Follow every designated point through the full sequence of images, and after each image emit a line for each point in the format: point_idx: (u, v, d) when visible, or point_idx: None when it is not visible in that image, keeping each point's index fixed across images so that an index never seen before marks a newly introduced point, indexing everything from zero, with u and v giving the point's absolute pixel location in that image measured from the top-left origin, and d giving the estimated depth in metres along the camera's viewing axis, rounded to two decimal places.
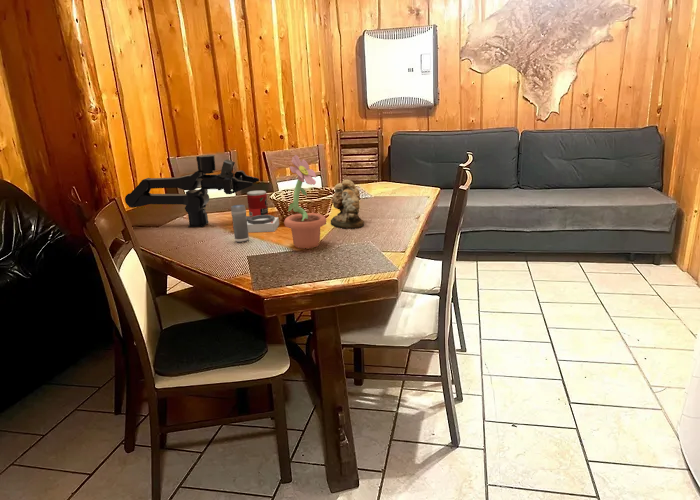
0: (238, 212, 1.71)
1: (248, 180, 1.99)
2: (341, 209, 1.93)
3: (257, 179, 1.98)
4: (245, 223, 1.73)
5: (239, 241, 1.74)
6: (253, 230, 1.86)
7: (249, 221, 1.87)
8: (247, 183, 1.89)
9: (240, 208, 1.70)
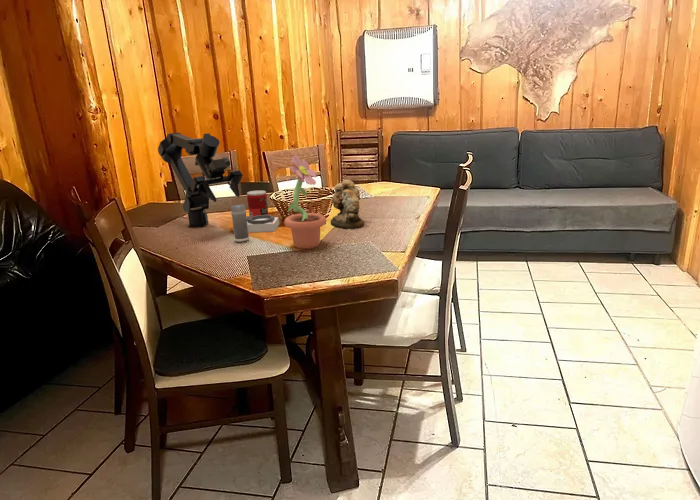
0: (238, 212, 1.71)
1: (233, 188, 1.83)
2: (341, 209, 1.93)
3: (237, 195, 1.81)
4: (245, 223, 1.73)
5: (239, 241, 1.74)
6: (253, 230, 1.86)
7: (249, 221, 1.87)
8: (211, 196, 1.75)
9: (240, 208, 1.70)
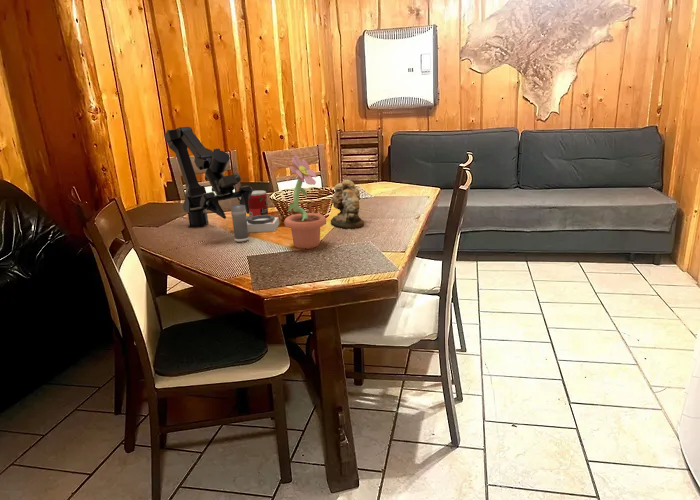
0: (238, 212, 1.71)
1: (243, 204, 1.79)
2: (341, 209, 1.93)
3: (247, 211, 1.77)
4: (245, 223, 1.73)
5: (239, 241, 1.74)
6: (253, 230, 1.86)
7: (249, 221, 1.87)
8: (221, 213, 1.71)
9: (240, 208, 1.70)
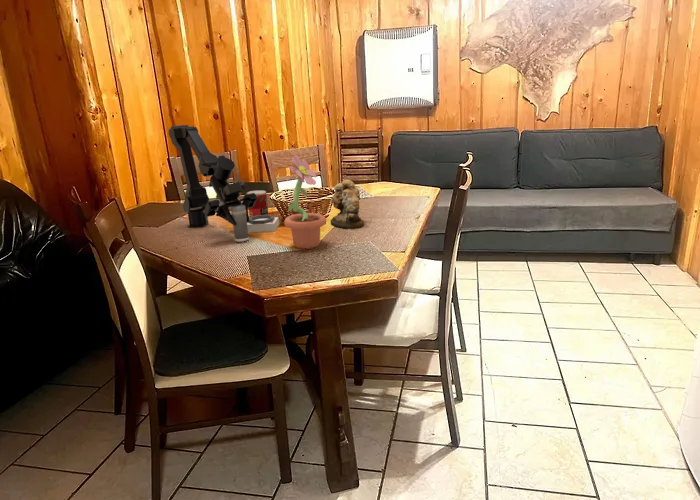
0: (238, 212, 1.71)
1: None
2: (341, 209, 1.93)
3: (247, 220, 1.75)
4: (245, 223, 1.73)
5: (239, 241, 1.74)
6: (253, 230, 1.86)
7: (249, 221, 1.87)
8: (231, 220, 1.71)
9: (240, 208, 1.70)
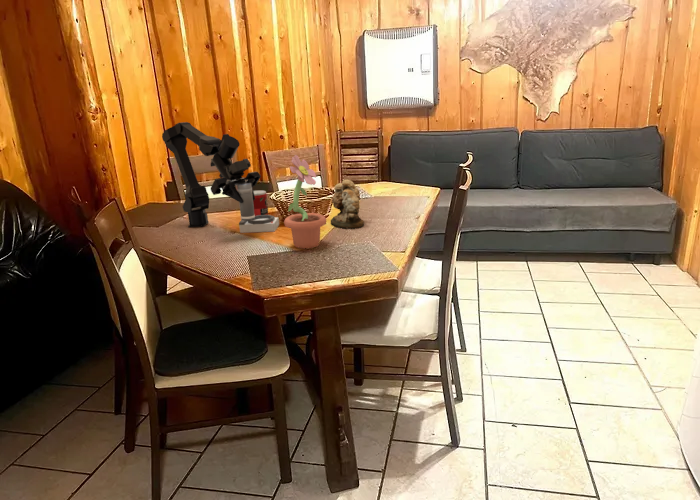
0: (245, 190, 1.73)
1: None
2: (341, 209, 1.93)
3: (253, 198, 1.77)
4: (252, 201, 1.75)
5: (246, 219, 1.76)
6: (253, 230, 1.86)
7: (249, 221, 1.87)
8: (238, 198, 1.73)
9: (247, 185, 1.73)
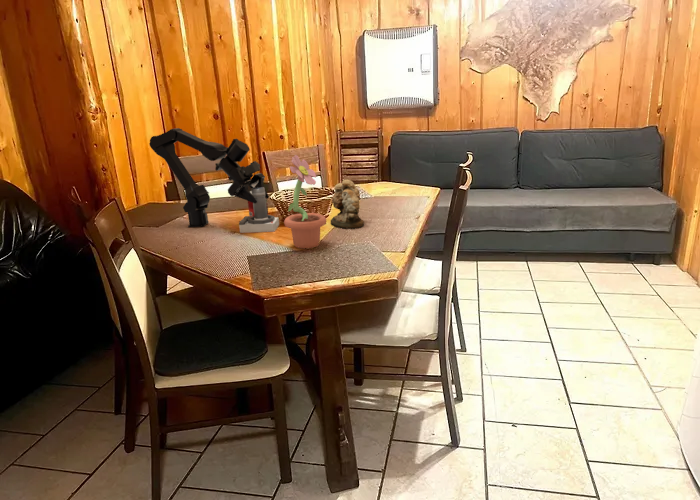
0: (261, 193, 1.85)
1: None
2: (341, 209, 1.93)
3: (267, 196, 1.91)
4: (265, 203, 1.88)
5: None
6: (253, 230, 1.86)
7: (249, 221, 1.87)
8: (252, 199, 1.83)
9: (263, 189, 1.85)
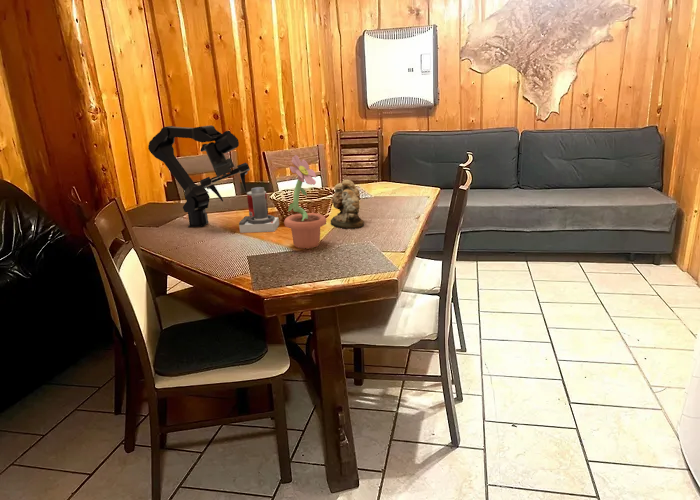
0: (261, 193, 1.85)
1: None
2: (341, 209, 1.93)
3: None
4: (265, 203, 1.88)
5: None
6: (253, 230, 1.86)
7: (249, 221, 1.87)
8: (219, 197, 1.87)
9: (262, 189, 1.85)
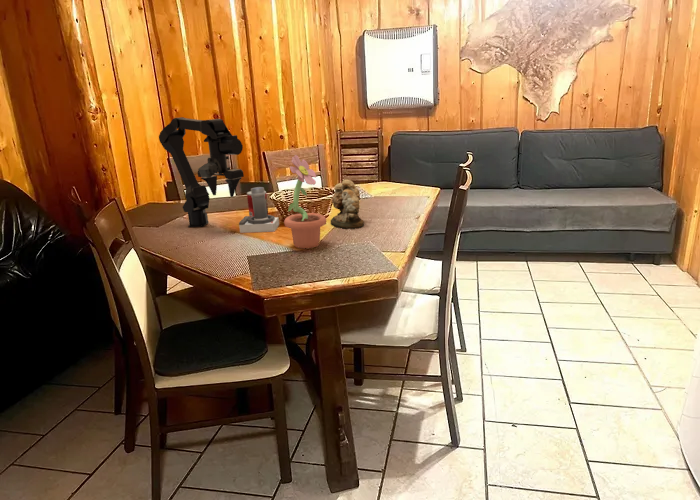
0: (261, 193, 1.85)
1: None
2: (341, 209, 1.93)
3: None
4: (265, 203, 1.88)
5: None
6: (253, 230, 1.86)
7: (249, 221, 1.87)
8: None
9: (262, 189, 1.85)
